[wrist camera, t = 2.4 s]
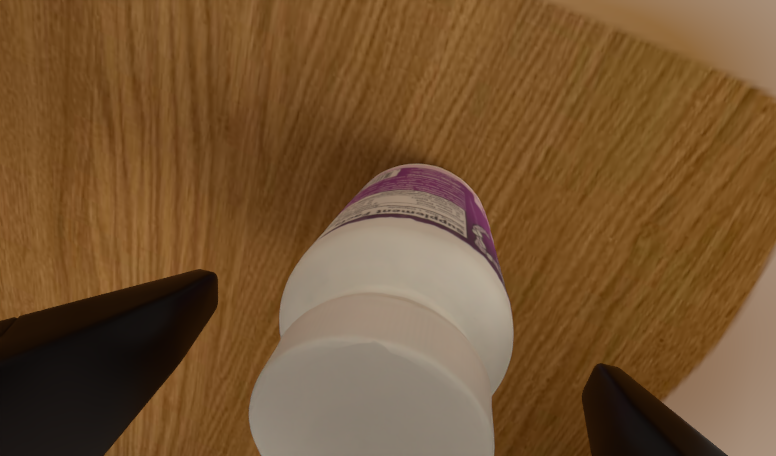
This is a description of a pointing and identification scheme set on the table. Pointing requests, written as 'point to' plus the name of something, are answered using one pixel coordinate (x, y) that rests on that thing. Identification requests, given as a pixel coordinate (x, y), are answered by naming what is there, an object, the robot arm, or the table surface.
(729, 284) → the table surface
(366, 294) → the pill bottle
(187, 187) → the table surface
